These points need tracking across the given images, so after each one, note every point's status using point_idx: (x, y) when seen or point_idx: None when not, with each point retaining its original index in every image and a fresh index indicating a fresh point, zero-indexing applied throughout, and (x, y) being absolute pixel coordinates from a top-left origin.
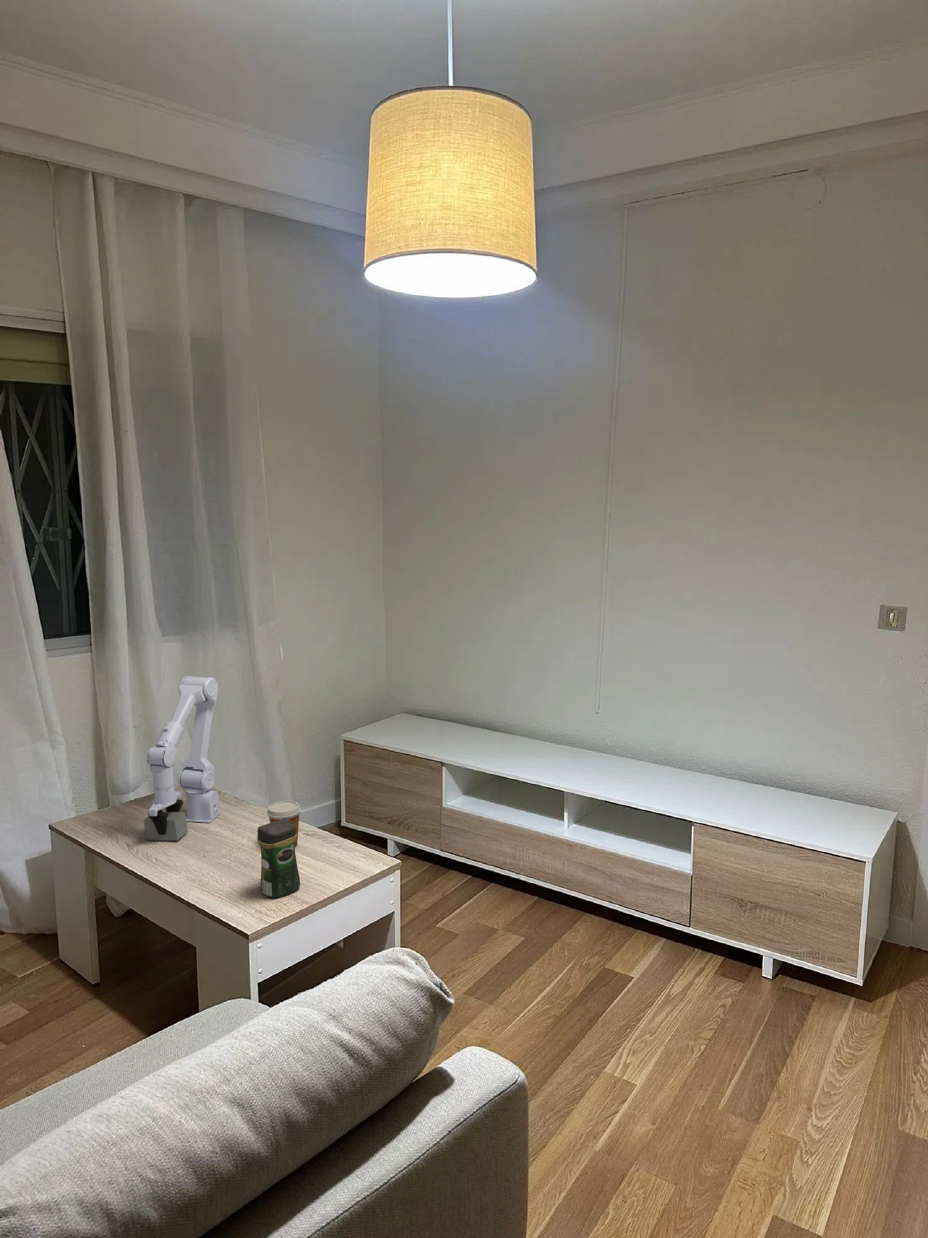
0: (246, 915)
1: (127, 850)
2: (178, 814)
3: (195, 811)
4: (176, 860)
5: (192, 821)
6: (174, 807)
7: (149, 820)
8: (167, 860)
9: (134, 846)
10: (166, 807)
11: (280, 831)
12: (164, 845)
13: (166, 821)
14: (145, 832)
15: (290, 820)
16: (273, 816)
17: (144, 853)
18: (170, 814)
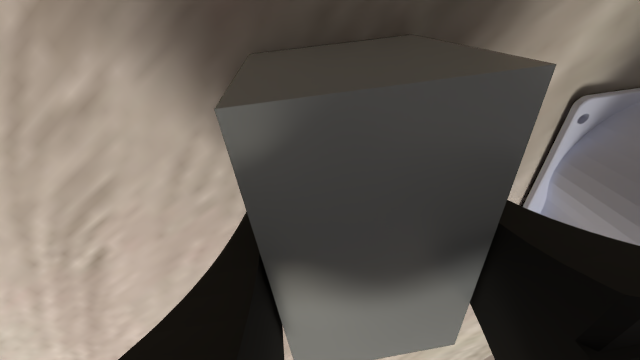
0: None
1: (5, 20)
2: (413, 338)
3: (597, 219)
4: (149, 318)
5: (543, 167)
6: (510, 338)
7: (243, 198)
8: (123, 299)
9: (106, 28)
10: (546, 274)
11: None
12: (238, 208)
13: (282, 331)
14: (243, 66)
15: None
16: None
17: (88, 179)
18: (420, 294)
